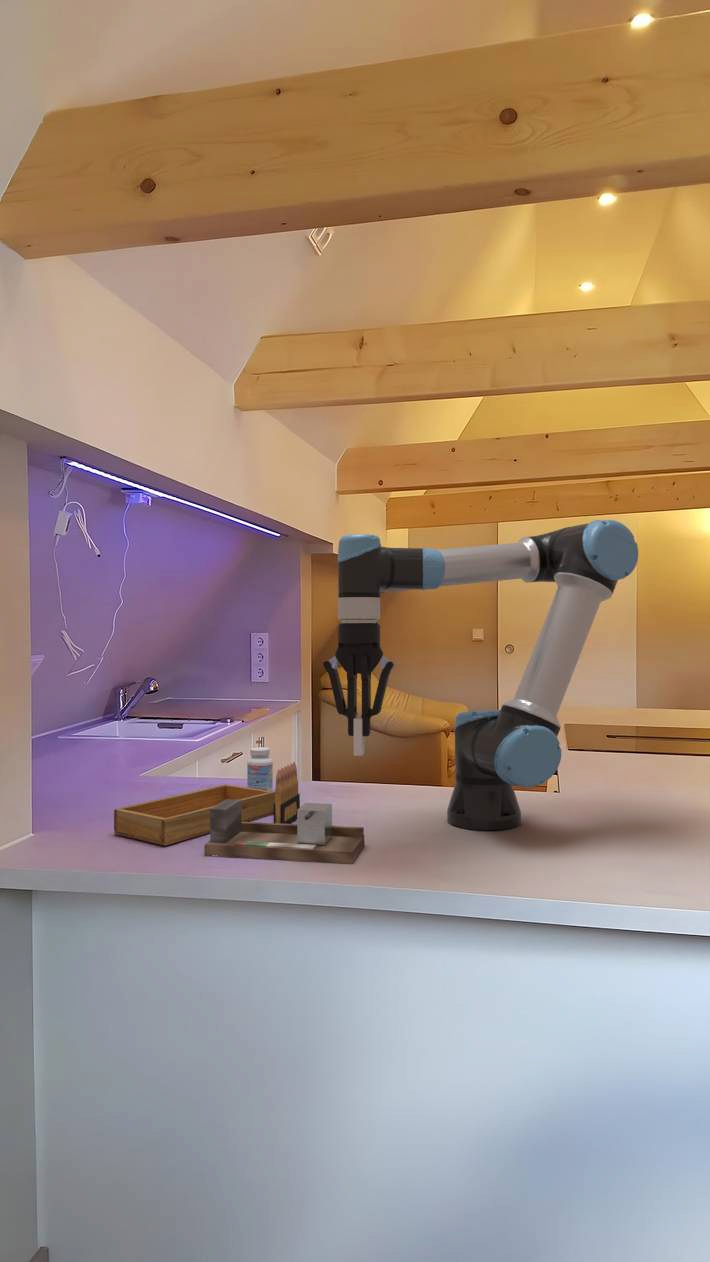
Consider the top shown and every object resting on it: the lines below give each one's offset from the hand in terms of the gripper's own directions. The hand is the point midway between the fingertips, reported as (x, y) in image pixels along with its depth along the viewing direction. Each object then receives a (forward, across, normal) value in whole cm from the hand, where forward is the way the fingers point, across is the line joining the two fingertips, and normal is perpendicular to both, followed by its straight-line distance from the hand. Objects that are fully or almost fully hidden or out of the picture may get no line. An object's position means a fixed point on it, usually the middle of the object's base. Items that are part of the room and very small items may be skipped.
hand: (359, 754), depth 138 cm
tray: (+19, +37, -15) cm, 44 cm away
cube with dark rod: (+16, +8, +1) cm, 18 cm away
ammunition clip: (+18, +19, -19) cm, 33 cm away
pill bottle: (+18, +33, -43) cm, 57 cm away
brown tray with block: (+18, +14, 0) cm, 23 cm away
